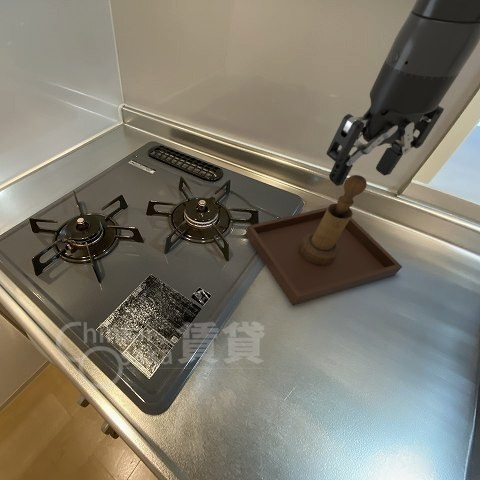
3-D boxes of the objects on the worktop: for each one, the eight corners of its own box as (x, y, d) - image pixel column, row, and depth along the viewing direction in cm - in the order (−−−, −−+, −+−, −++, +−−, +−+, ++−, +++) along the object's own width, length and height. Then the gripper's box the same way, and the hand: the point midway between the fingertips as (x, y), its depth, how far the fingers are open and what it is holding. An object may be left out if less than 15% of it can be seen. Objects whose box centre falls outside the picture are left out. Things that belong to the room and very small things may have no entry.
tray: (332, 214, 69) (338, 204, 67) (393, 276, 58) (402, 266, 56) (245, 235, 65) (247, 225, 63) (292, 306, 54) (297, 297, 52)
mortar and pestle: (296, 258, 60) (334, 183, 47) (301, 236, 64) (337, 161, 51) (333, 270, 58) (383, 195, 45) (336, 246, 62) (383, 171, 49)
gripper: (398, 81, 32) (335, 201, 44) (502, 65, 35) (416, 182, 47) (348, 58, 37) (304, 172, 49) (443, 45, 40) (379, 156, 52)
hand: (359, 177), depth 48 cm, fingers open, 8 cm apart
